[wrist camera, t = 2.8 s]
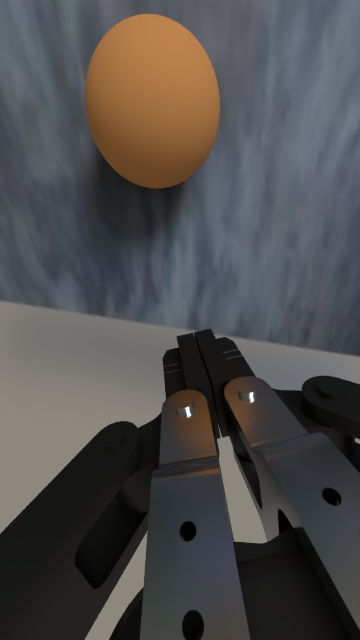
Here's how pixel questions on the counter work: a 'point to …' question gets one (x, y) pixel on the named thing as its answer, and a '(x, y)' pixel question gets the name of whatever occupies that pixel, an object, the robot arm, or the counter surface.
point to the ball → (152, 101)
